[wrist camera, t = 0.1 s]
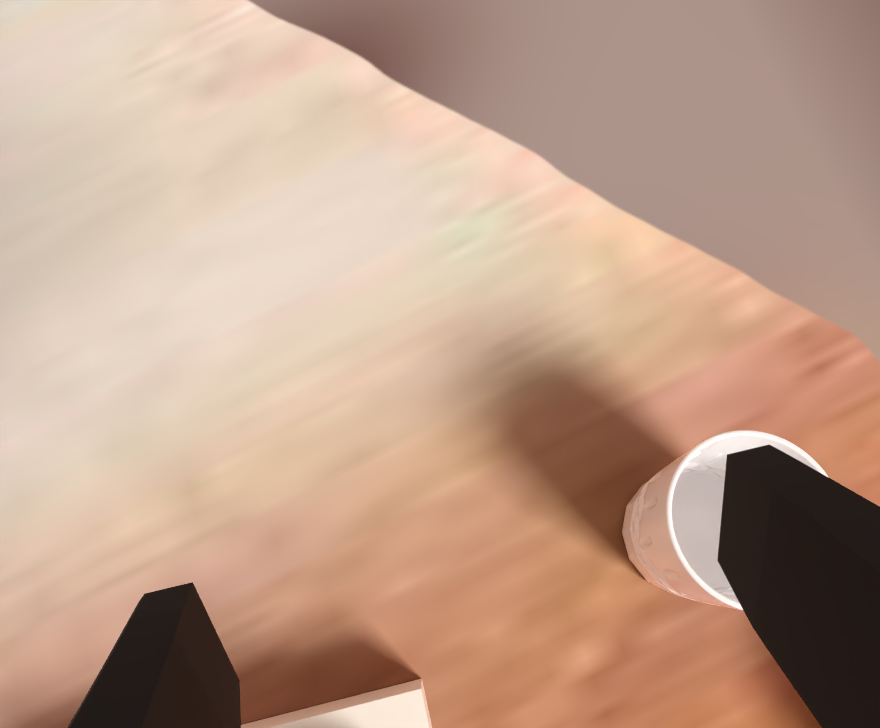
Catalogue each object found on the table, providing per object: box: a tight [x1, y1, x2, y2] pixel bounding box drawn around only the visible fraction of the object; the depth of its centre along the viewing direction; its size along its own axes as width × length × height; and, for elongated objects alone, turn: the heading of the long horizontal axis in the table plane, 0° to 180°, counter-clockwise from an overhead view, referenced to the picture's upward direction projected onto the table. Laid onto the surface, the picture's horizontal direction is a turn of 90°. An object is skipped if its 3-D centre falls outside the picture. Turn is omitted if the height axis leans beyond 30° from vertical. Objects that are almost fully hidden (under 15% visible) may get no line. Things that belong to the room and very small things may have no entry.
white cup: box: [622, 430, 829, 611], centre depth 36 cm, size 8×8×10 cm
